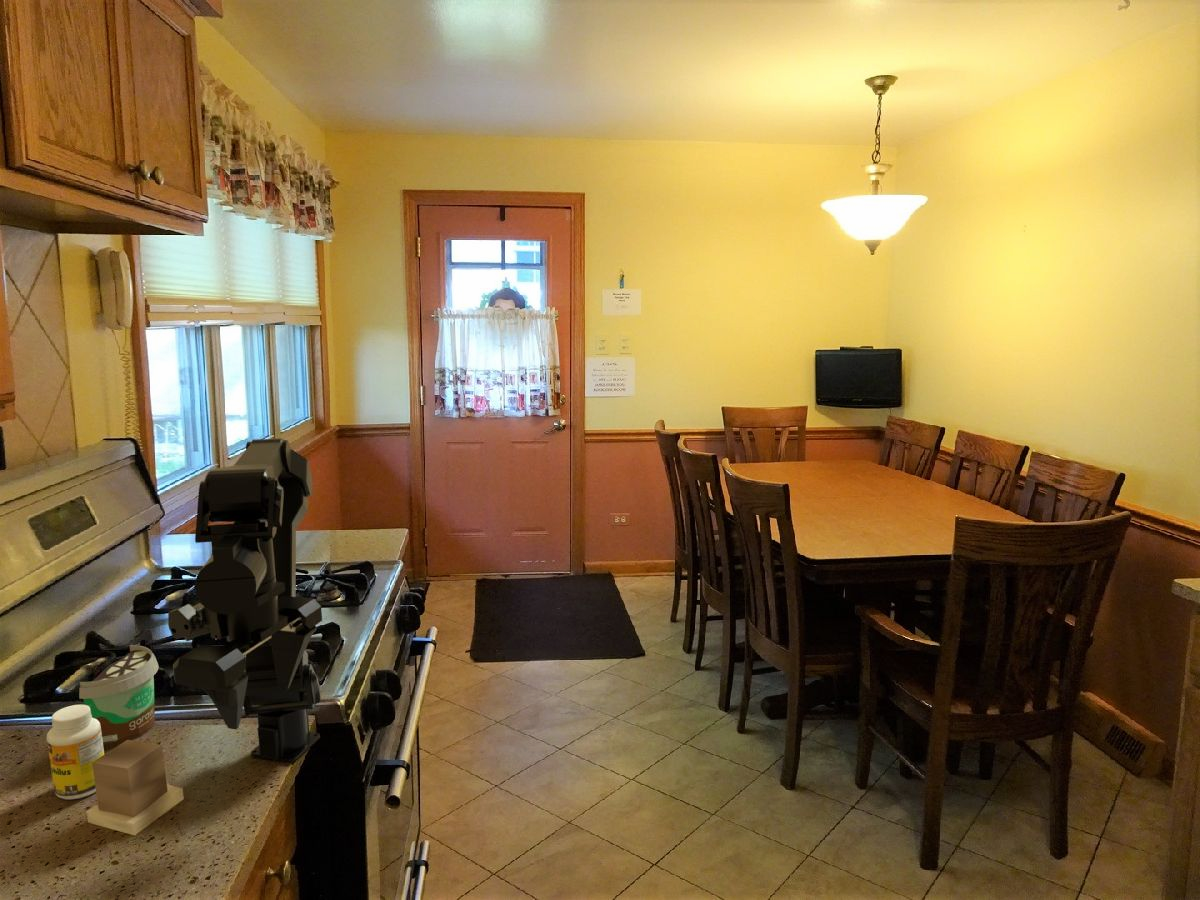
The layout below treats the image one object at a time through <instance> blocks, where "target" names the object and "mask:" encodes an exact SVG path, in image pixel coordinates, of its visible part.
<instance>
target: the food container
mask: <svg viewBox="0 0 1200 900" xmlns="http://www.w3.org/2000/svg"><path fill="white" fill-rule="evenodd" d="M129 651H130V652H128V653H126V654H125V656H123V657H121V658H120V659H119V660H117V661H115V662H112V663H111V664H109V665H108V666H107V667H105V668H104V670H102V671H101V672H100V674H98V676H96V677H95V678H94V679H93V680H92V681H80V682H79V686H80V687H79V693H78V694H79V700H81V699H82V700H83V703H84V704H83V705H87V706H89V707H90V710H91V715H92V718H95V719H97V720H98V721H99V722H100V726H101V733H102V740H103V748H108V747H114V746H115V747H117V746H119V745H120V744H122V743H123V742H125V741H126V740H132V741H135V740H137V739H138V738H141V737H142V736H144V735H145V734H147V733H148V732H149V731H150V730H151V729H153V727H154V726H155V722H156V717H155V716H156V715H155V683H154V682H155V679H154V675H156V673H158V670H159V668H160V667H159V663H158V661H157V658H156V656H155V654H154V653H153V652H152V650H151V649H149V648H148V647H146V646H142V645H136V644H135V645H134V644H130V645H129Z"/></svg>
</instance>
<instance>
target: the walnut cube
mask: <svg viewBox="0 0 1200 900" xmlns="http://www.w3.org/2000/svg"><path fill="white" fill-rule="evenodd" d="M163 751H164V750H163V745H162V744H157V743H149V742H145V741H137V740H126V741H125V742H123V743H122V744H119V745H116V746H115V747H114V748H112V749H111V750H109V751H108V752H106V753H104V755H103V756H101V757H100V758H98V759H97V760H95V761H94V762H92V766H93V773H94V780H95V787H96V792H95V793H96V798H97V799H96V800H97V804H98V808H99V810H102V811H107V812H113V813H118V814H123V815H129V816H136V815H137V814H138V813H139V812H141V811H142V810H143V809H145V808H146V807H147V806H149V805H150V804H151V803H153V802H154V801H155V800H157V799H158V798H159V797H161V796H162V795H163V794H165V793H166V792H167V791H168V790H167V785H168V783H167V774H166V768H165V760H164V758H165V757H164V754H163V753H164V752H163Z"/></svg>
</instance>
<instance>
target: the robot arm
mask: <svg viewBox="0 0 1200 900" xmlns="http://www.w3.org/2000/svg"><path fill="white" fill-rule="evenodd" d="M309 464H310V463H309V461H308V459H307V458H306V457H305V456H303V455H301V454H300V453H298V452H297V451H295V450H293V449H292V448H291V445H290V441H289V440H288V439H286V440H285V439H284V438H283V437H281V438H261V439H259V438H258V439H257V438H256V439H252V440H251V441H247V442H246V445H245V451H243V453H242V454H241V455H240V457H239V458H238V460H237V461H235V463H234V464H233V465H231V466H223V467H222V466H221V467H217V468H214V469H210V470H209V471H208V472H207V473H206V475H205V477H204V480H202V481H200V483H199V487H198V496H197V497H198V498H197V506H196V507H197V509H196V510H197V511H196V524H195V537H194V542H195V544H201V543H211V555H210V557H209V558H208V560H207V561H206V562H205V564H204V565H203V566H202V567H201V569H200V571H199V572H198V574H197V575H196V579H195V582H194V584H193V585H194V586H193V587H194V588H193V589H194V593H195V596H196V598H197V600H198V601H199V603H197V604H195V605H193V606H192V605H191V604H190V603H187V604H185V605H183V606H178V607H176V608H174V609H173V610H170V611H168V613H167V615H168V616H167V623H168V625H167V626H168V629H169V631H170V634H171V636H172V637H173V638H175V639H177V640H178V639H181V638H184V640H185V641H186V642H188V641H192V640H194V639H195V638H197V637H200V636H203V635H207V634H210V638H211V639H214V640H215V639H217V640H221V639H223V638H224V639H225V638H226V641H227V643H226V644H224V645H221V646H220V645H212V644H205V643H202V644H200V645H197V646H196V647H195V648H193V649H191V650H190V651H188V652H187V653H185V654H183V655H181V656H179V657H178V658H177V659H176V661H174V663H173V664H172V670H173V678H174V684H175V685H180V686H187V687H191V688H198V689H202V690H203V691H204V692H205V693H206V694H207V696H208V697H209V698H210V699H211V702H212V703H213V705H214V706H215V708H216V710H217V712H218V713H219V714H220V717H221V718H222V720H223V722H224V724H225V725H226V727H227V728H228V729H231V730H237V729H239V728H240V727H239V726H240V723H241V720H242V715H243V711H244V716H245V717H250V716H255V715H256V716H257V726H258V727H257V738H258V744H257V746H255V747H254V749H252V750H251V751H250V756H251V757H253V758H260V759H268V760H272V761H280V762H286V763H293V762H296V760H297V759H299V758H300V757H301V756H302V755H304V753H305V752H306V751H308V749H310V747H312V746H313V745H314V744H315V743H316V742H317V741H318V740H320V738H321V736H320V733H318V732H311V730H310V720H309V711H310V710H314V708H315V705H317V704H319V703H321V701H322V698H321V697H322V696H321V685H320V683H319V679H318V675H317V674H316V672H315V670H314V667H313V665H312V663H311V664H309V654H308V653H307V651H306V649H307V646H308V645H309V642H310V640H311V638H312V636H313V634H314V633H315V632H316V631H317V626H316V625H318V624H319V623H321V622H322V621H323V614H322V613H323V612H322V605H320V604H319V602H318V601H316V599H315V598H309V597H300V596H299V597H298V596H296V592H297V591H296V590H297V589H296V585H297V584H296V582H297V581H296V569H297V565H296V564H297V563H296V561H297V559H296V558H297V557H296V553H297V551H296V549H297V547H296V545H297V538H296V537H297V535H296V534H297V528H298V526H299V525H300V524H301V522H302V521H303V519H304V517H305V516H306V515H307V513H308V510H309V497H312V496H313V476H312V470H311V467H310V465H309ZM209 522H210V523H212V524H209ZM217 523H218V524H217ZM219 523H221V524H219Z"/></svg>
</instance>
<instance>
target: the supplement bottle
mask: <svg viewBox="0 0 1200 900" xmlns="http://www.w3.org/2000/svg"><path fill="white" fill-rule="evenodd" d="M51 721H52V722H51V724H52V727H51V728H50V729H49V731H48V732H47V734H46V743H47V744H46V745H47V750H48V758H49V763H50V770H51V771H50V772H51V779H52V785H53V791H54V794H55V795H56V796H57V797H58V798H60V799H62V800H77V799H82V798H85V797H88V796H91V795H92V794H94V793H96V787H95V780H94V773H93V766H92V762H94V761H95V760H97V759H98V758H100V757H101V756H103V755H105V749H104V748H105V747H104V748H103V740H102V733H101V726H100V722H99V721H98V720H97V719H95V718H92V715H91V710H90V707H89V706H87V705H85V704H73V705H69V706H65V707H63V708H60V709H59V710H56V711H55V712H54V713H53V714H52V716H51Z"/></svg>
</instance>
